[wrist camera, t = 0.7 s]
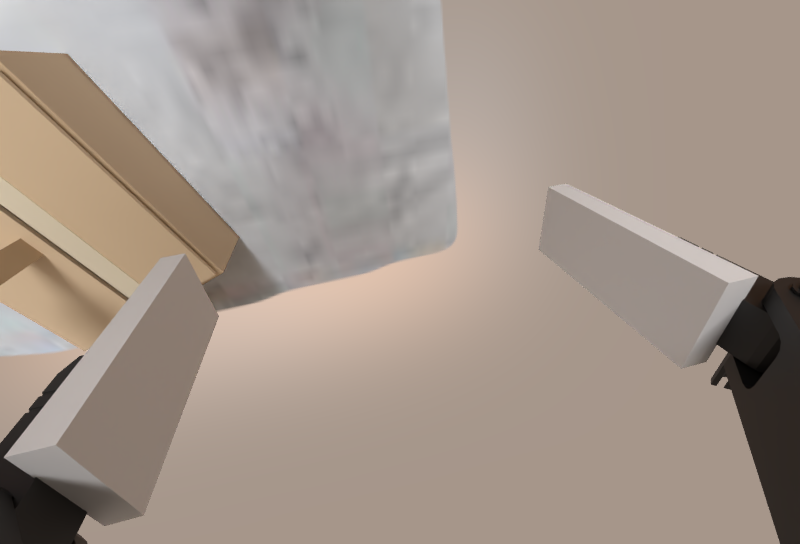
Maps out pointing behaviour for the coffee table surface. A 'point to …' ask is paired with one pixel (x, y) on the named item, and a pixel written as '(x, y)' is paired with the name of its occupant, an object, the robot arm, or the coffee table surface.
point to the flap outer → (52, 285)
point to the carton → (96, 178)
